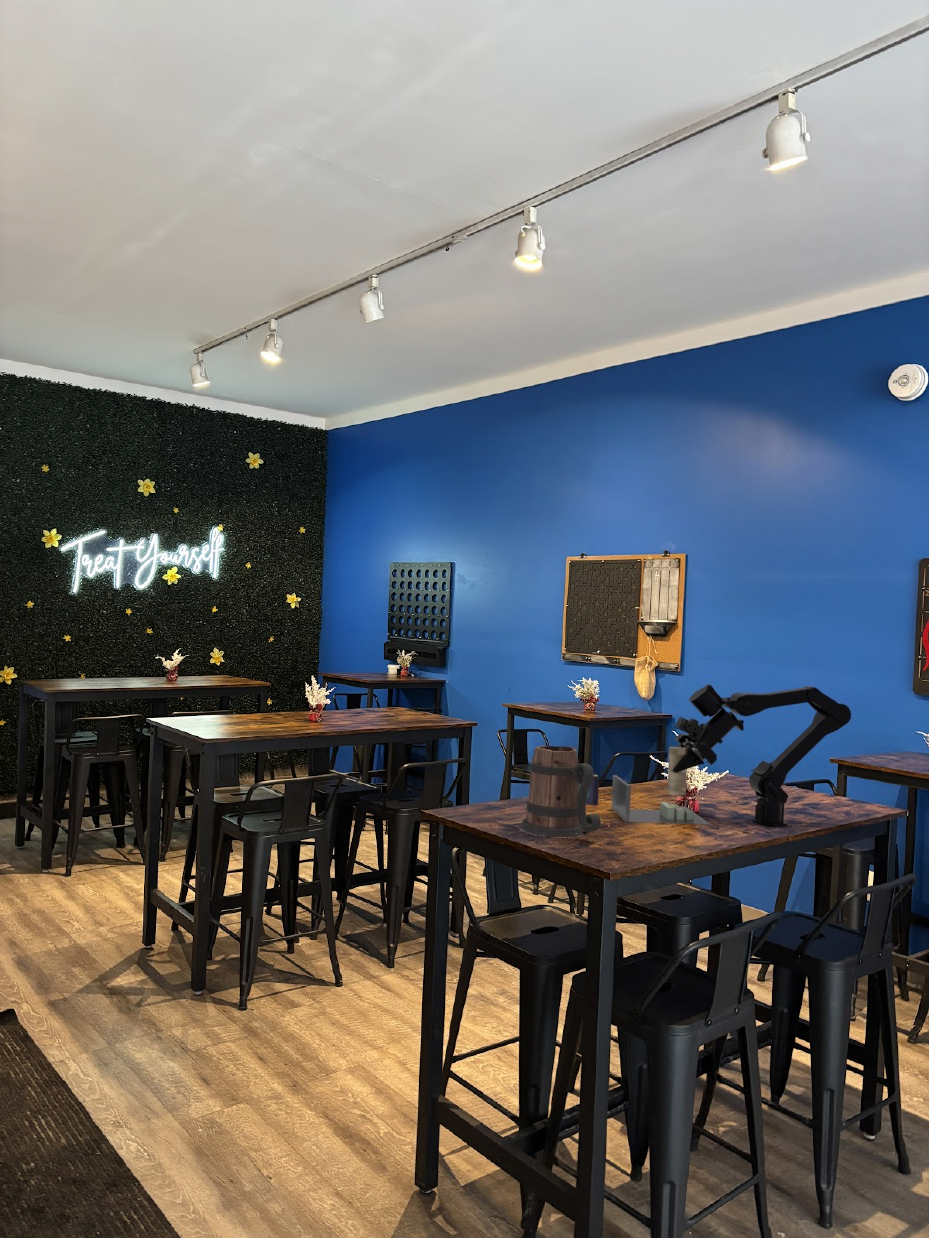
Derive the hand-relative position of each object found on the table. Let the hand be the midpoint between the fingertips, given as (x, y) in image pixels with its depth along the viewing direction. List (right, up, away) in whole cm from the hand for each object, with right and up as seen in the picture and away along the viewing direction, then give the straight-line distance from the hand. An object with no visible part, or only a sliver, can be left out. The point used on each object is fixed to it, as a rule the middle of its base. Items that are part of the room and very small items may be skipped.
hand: (672, 770), depth 242 cm
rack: (-3, -13, 0) cm, 13 cm away
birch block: (+1, -6, 0) cm, 6 cm away
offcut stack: (+1, -12, 0) cm, 12 cm away
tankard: (-31, -12, -20) cm, 39 cm away
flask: (-22, -12, +14) cm, 29 cm away
